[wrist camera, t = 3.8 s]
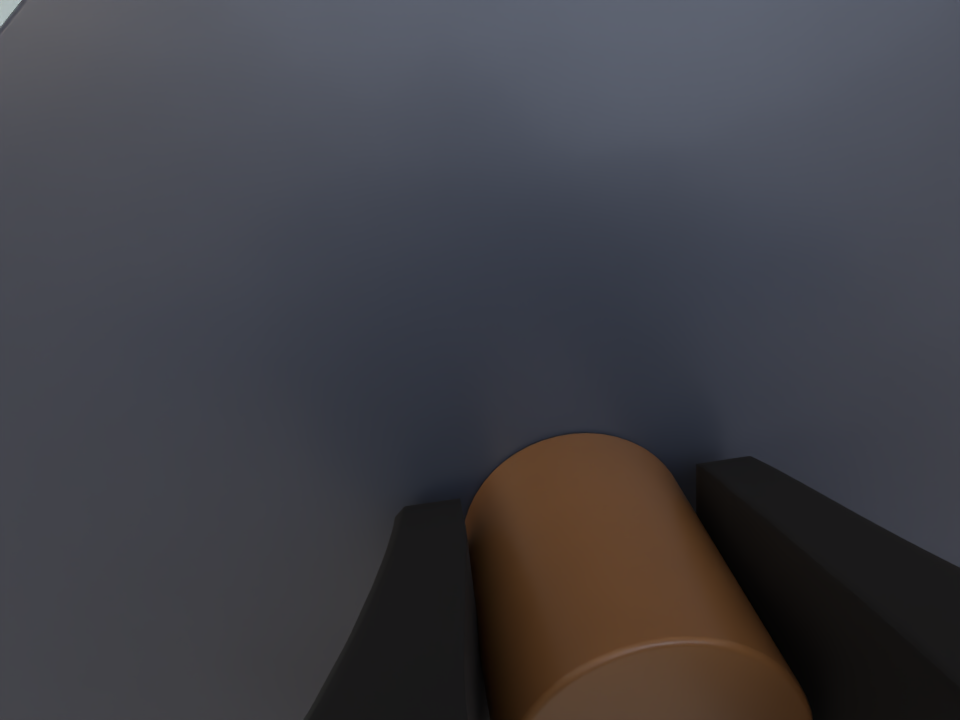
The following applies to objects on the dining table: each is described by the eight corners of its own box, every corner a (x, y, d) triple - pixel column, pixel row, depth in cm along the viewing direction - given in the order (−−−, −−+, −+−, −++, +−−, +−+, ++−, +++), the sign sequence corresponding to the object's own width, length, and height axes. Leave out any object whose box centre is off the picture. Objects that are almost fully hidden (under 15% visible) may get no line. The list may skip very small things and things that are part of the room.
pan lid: (1358, 302, 11) (1912, 478, 7) (648, 992, 16) (746, 1356, 11) (348, -676, 7) (306, -1678, 3) (-288, 669, 11) (-689, 1083, 7)
